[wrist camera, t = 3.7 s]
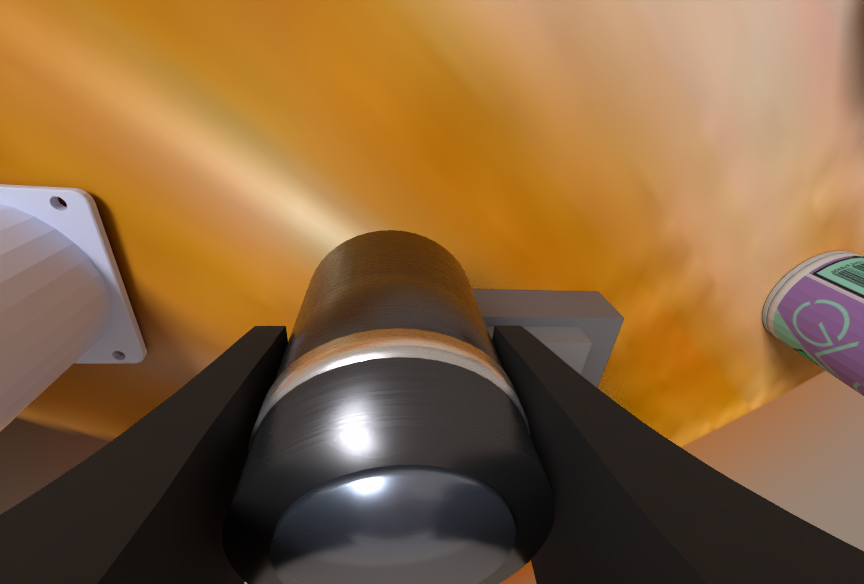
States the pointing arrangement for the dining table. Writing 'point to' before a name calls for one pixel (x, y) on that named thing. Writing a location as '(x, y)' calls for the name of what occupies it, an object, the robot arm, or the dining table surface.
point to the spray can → (823, 314)
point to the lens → (389, 435)
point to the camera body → (558, 323)
